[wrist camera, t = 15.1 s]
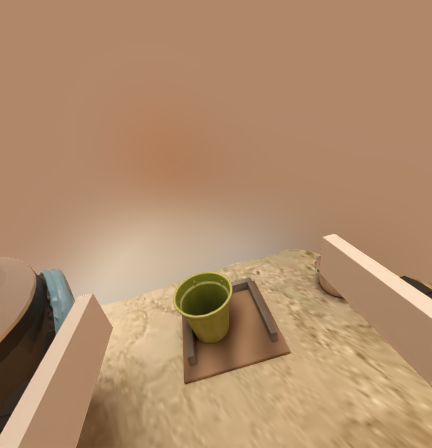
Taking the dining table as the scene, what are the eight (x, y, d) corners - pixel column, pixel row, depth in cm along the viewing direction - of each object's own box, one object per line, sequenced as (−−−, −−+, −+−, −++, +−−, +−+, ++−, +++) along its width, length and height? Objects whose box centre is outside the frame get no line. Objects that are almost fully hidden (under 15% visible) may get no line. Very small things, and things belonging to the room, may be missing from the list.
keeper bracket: (185, 384, 30) (180, 374, 28) (182, 301, 44) (179, 292, 43) (290, 353, 31) (290, 342, 30) (254, 282, 45) (253, 273, 44)
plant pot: (250, 323, 36) (244, 286, 32) (211, 368, 30) (198, 329, 27) (213, 299, 42) (205, 265, 39) (175, 332, 37) (162, 296, 33)
